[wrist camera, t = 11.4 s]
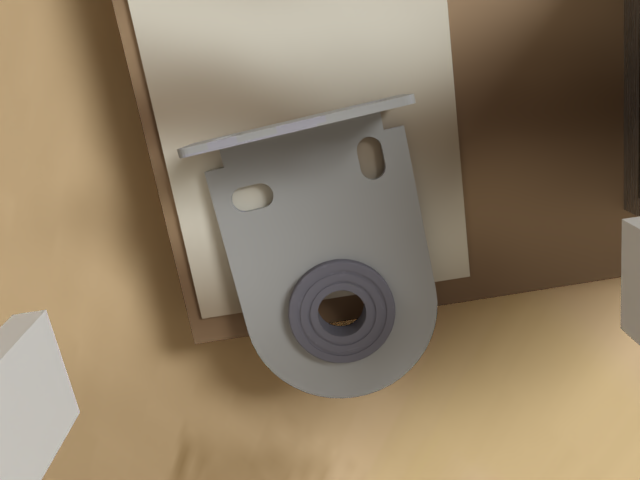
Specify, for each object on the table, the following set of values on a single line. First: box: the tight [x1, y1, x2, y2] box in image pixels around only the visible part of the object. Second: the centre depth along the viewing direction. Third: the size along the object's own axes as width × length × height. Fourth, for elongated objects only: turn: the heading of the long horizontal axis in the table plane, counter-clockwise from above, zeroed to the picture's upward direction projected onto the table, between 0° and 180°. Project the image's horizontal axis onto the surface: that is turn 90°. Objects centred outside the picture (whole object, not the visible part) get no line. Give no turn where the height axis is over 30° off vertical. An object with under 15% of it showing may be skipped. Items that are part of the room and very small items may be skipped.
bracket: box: [177, 94, 437, 398], centre depth 19 cm, size 7×10×4 cm, turn 13°
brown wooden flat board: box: [112, 0, 638, 344], centre depth 20 cm, size 14×22×2 cm, turn 99°
